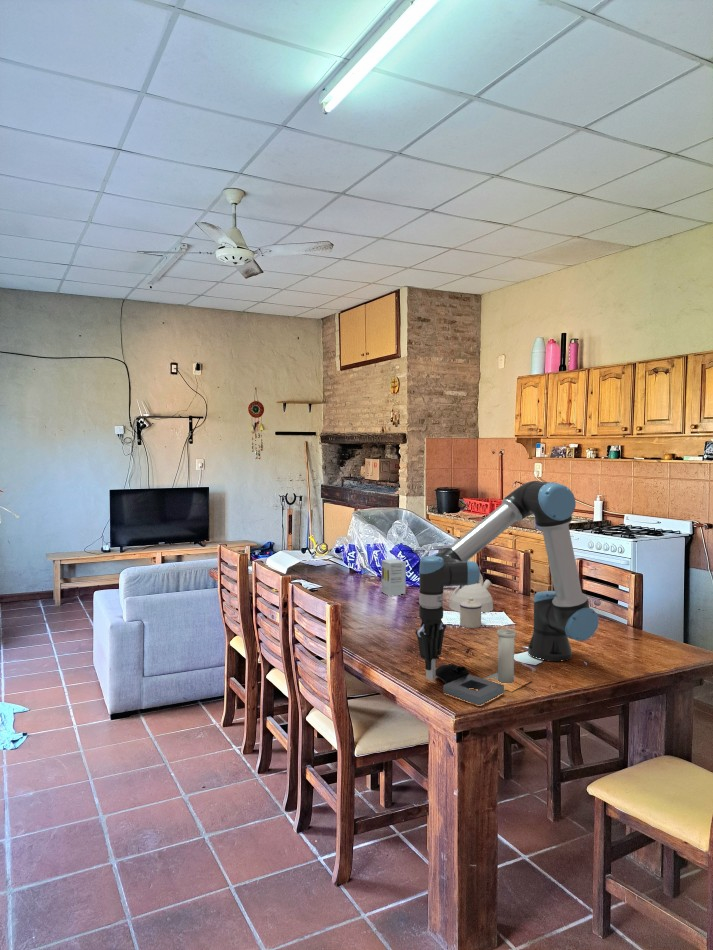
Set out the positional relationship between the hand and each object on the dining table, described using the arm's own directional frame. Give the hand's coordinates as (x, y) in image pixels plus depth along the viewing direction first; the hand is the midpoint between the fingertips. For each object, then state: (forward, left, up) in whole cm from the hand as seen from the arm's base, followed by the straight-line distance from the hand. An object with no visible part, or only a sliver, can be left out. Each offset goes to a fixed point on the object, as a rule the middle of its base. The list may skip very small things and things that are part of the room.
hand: (430, 678), depth 205 cm
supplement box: (-80, -88, -2) cm, 119 cm away
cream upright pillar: (-18, +16, -1) cm, 24 cm away
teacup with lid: (-63, -30, -2) cm, 70 cm away
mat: (-18, +16, -2) cm, 24 cm away
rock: (-6, +4, -2) cm, 7 cm away
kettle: (-86, -45, -2) cm, 97 cm away
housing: (-2, +15, -2) cm, 15 cm away
